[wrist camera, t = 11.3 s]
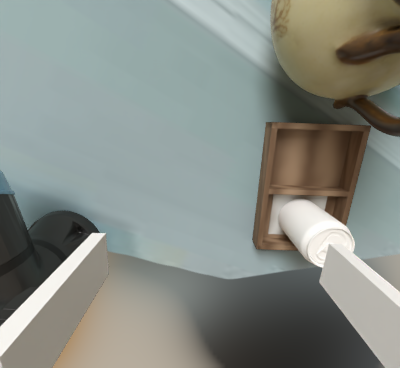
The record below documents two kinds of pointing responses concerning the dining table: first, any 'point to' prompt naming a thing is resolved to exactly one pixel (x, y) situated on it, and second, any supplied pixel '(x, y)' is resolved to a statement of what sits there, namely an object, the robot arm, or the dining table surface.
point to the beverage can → (313, 230)
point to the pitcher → (341, 51)
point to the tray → (306, 174)
